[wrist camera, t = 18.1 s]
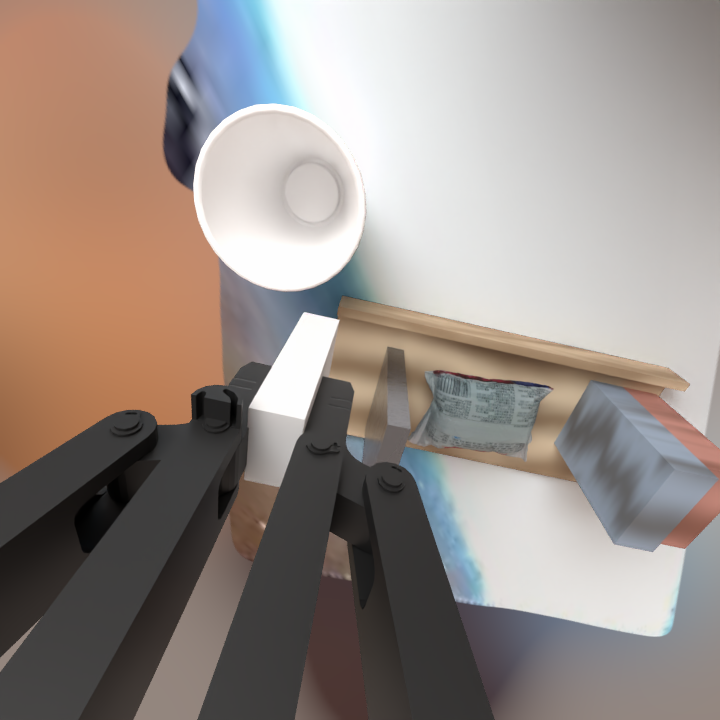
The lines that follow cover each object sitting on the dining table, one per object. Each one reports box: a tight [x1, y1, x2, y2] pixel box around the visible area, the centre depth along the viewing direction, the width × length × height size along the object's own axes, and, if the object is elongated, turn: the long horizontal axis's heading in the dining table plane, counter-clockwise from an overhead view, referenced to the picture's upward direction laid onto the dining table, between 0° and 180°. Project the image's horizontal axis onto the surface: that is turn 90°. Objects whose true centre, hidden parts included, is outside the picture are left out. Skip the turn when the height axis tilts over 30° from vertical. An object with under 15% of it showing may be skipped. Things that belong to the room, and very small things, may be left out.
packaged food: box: [408, 370, 553, 462], centre depth 36 cm, size 9×12×5 cm
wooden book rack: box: [329, 295, 720, 552], centre depth 33 cm, size 15×32×13 cm, turn 78°
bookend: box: [362, 346, 411, 467], centre depth 33 cm, size 10×2×12 cm, turn 168°
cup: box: [193, 104, 366, 292], centre depth 26 cm, size 10×10×11 cm
